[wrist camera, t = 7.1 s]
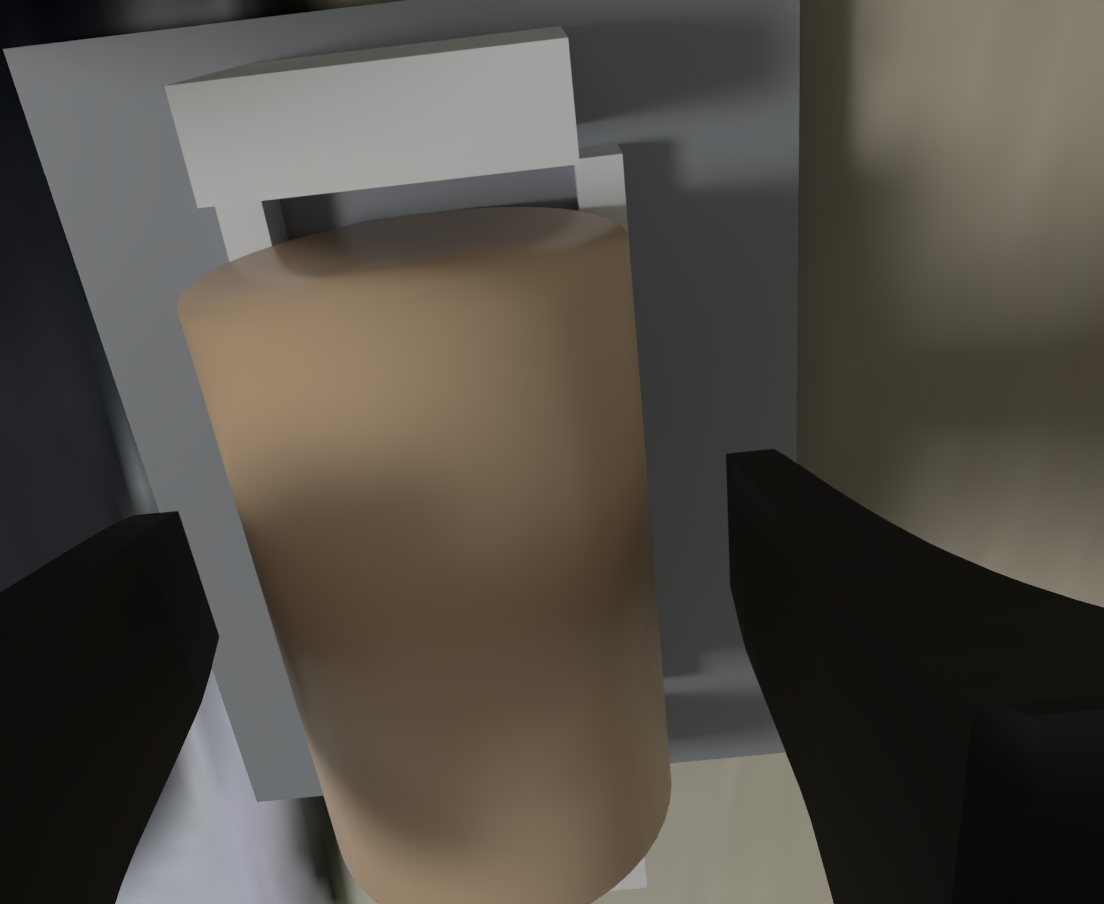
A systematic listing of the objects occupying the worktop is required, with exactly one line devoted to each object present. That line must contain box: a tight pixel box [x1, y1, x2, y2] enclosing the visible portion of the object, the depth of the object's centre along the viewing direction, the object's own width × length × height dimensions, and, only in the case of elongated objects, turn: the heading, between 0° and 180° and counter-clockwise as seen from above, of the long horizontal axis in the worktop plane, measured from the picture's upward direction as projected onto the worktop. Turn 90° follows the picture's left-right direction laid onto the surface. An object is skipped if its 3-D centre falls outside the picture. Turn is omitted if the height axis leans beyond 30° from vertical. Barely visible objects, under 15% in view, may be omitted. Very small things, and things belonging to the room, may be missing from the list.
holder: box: [3, 0, 800, 891], centre depth 14 cm, size 10×13×4 cm
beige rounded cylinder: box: [177, 207, 671, 904], centre depth 12 cm, size 5×8×5 cm, turn 6°
